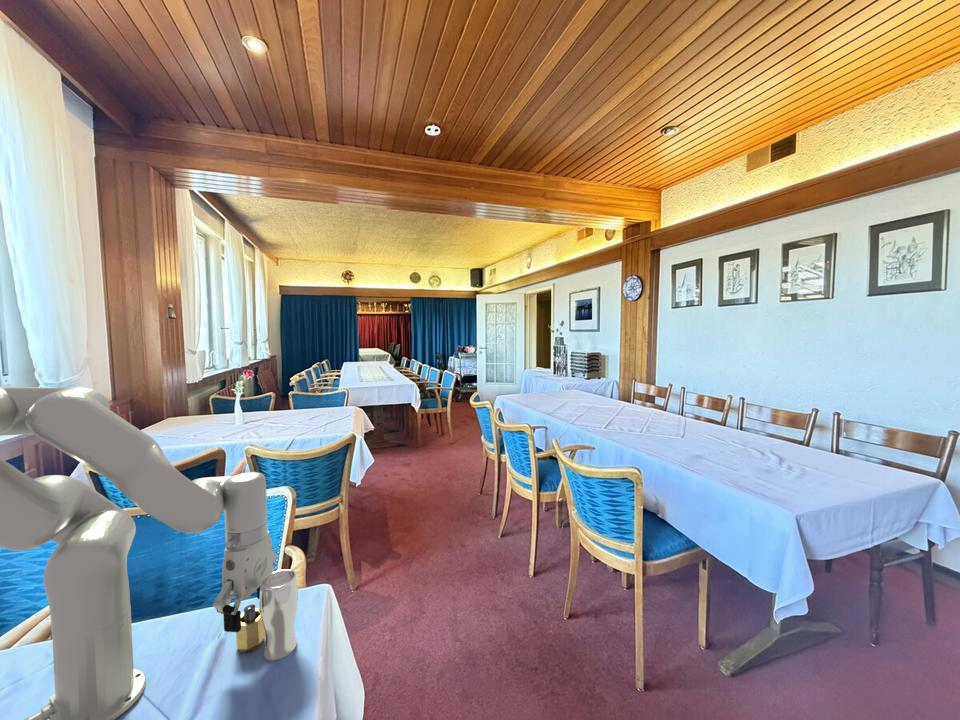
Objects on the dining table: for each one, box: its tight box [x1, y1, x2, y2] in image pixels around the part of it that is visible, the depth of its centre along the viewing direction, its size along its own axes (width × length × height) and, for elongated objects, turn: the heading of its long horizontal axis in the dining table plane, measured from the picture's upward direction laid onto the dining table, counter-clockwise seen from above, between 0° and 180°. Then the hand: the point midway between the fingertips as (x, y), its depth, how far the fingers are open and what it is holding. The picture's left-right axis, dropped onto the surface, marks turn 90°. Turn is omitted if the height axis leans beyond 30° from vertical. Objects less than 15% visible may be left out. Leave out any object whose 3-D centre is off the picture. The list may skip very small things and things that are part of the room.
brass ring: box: [235, 607, 266, 650], centre depth 79 cm, size 5×5×5 cm
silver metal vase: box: [259, 568, 299, 662], centre depth 78 cm, size 7×7×15 cm
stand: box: [237, 604, 264, 654], centre depth 79 cm, size 5×5×8 cm
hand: (249, 613), depth 79 cm, fingers open, 9 cm apart
